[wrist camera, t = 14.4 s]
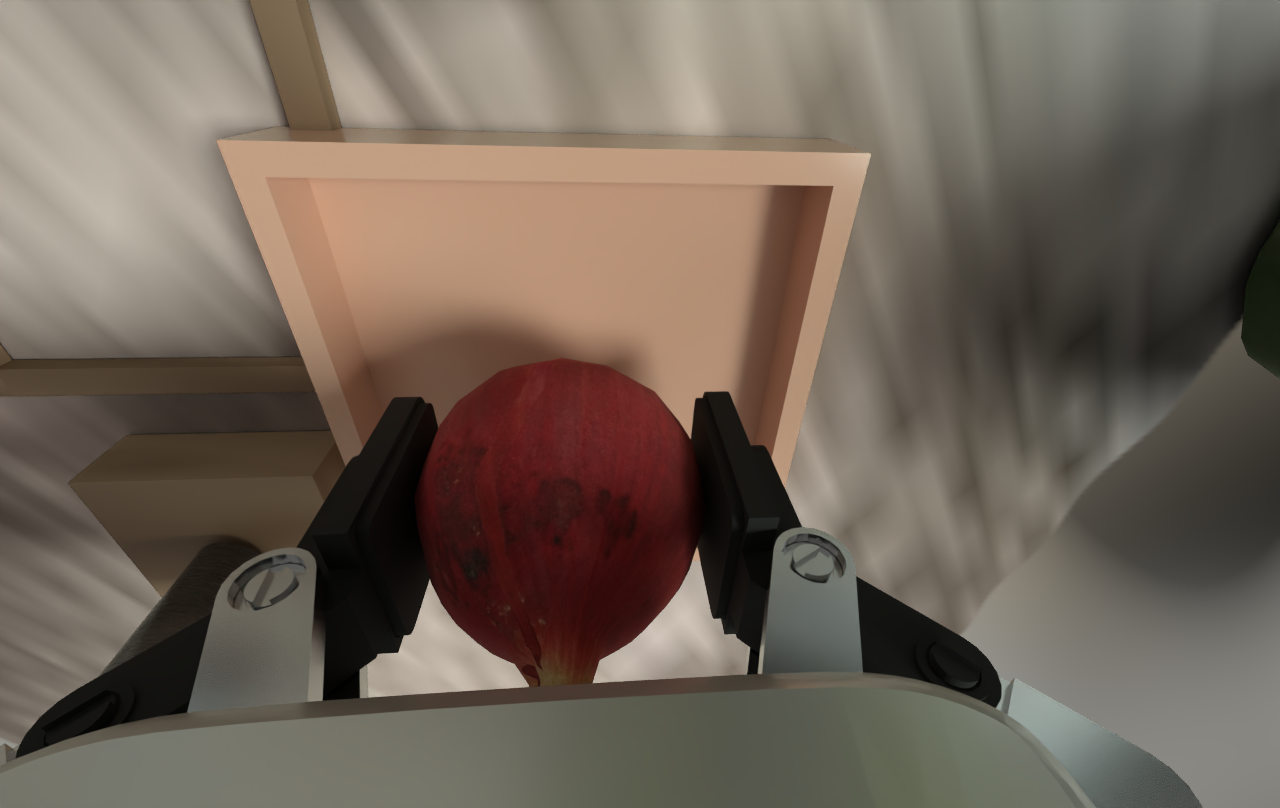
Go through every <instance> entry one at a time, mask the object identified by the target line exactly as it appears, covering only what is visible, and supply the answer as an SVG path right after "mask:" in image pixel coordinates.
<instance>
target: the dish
mask: <svg viewBox="0 0 1280 808" xmlns="http://www.w3.org/2000/svg"><path fill="white" fill-rule="evenodd" d="M216 141H217V144H218V146H219V149H220V151H221V154H222V156H223V159H224V161H225V164H226V166H227V169H228V171H229V174H230V176H231V179H232V181H233V184H234V186H235V189H236V191H237V194H238V196H239V199H240V202H241V204H242V207H243V209H244V212H245V214H246V217H247V219H248V222H249V224H250V227H251V229H252V232H253V234H254V237H255V239H256V242H257V244H258V247H259V249H260V252H261V254H262V257H263V260H264V262H265V265H266V267H267V270H268V272H269V275H270V277H271V280H272V282H273V285H274V287H275V290H276V292H277V295H278V297H279V300H280V302H281V305H282V307H283V310H284V313H285V315H286V318H287V320H288V323H289V325H290V328H291V330H292V333H293V335H294V338H295V340H296V343H297V345H298V348H299V350H300V353H301V355H302V358H303V360H304V363H305V365H306V368H307V371H308V373H309V376H310V378H311V381H312V383H313V386H314V388H315V391H316V393H317V396H318V398H319V401H320V403H321V406H322V408H323V411H324V413H325V416H326V418H327V421H328V423H329V426H330V429H331V431H332V434H333V436H334V439H335V441H336V444H337V446H338V449H339V451H340V454H341V456H342V459H343V461H344V464H345V466H346V465H347V464H348V462H349V461H350V460H351V459H352V457H355V456H357V455H359V454H360V452H361V451H362V449H363V447H364V446H365V444H366V442H367V441H368V439H369V437H370V436H371V434H372V432H373V430H374V429H375V427H376V425H377V424H378V422H379V420H380V419H381V417H382V415H383V414H384V412H385V410H386V409H387V407H388V405H389V404H390V402H391V400H392V399H393V398H395V397H422V398H423V400H424V401H425V403H431V404H432V405H433V408H434V412H435V416H436V420H437V424H438V428H439V426H440V424H441V423H442V422H443V420H444V419H445V417H446V416H447V415H448V413H449V412H450V411H451V409H452V408H453V407H454V405H455V404H456V403H457V401H459V400H460V399H462V398H463V397H464V396H466V395H467V394H468V393H470V392H471V391H473V390H474V389H475V388H477V387H478V386H479V385H481V384H482V383H484V382H485V381H486V380H488V379H489V378H491V377H492V376H493V375H495V374H496V373H497V372H499V371H500V370H504V369H508V368H511V367H515V366H520V365H526V364H531V363H537V362H543V361H548V360H554V359H559V358H566V359H572V360H578V361H584V362H589V363H595V364H601V365H607V366H609V367H611V368H613V369H615V370H616V371H618V372H620V373H622V374H624V375H626V376H627V377H629V378H631V379H633V380H635V381H637V382H638V383H640V384H642V385H644V386H646V387H648V388H650V389H651V390H653V391H655V392H656V393H657V395H658V396H659V397H660V398H661V400H662V401H663V402H664V403H665V404H666V406H667V407H668V408H669V409H670V411H671V412H672V413H673V414H674V416H675V417H676V418H677V419H678V420H679V422H680V423H681V425H682V426H683V428H684V430H685V431H686V433H687V434H688V436H689V437H690V439H691V432H692V423H693V413H694V404H695V399H696V398H703V394H704V392H716V391H728V392H729V393H730V395H731V398H732V400H733V403H734V405H735V408H736V410H737V413H738V415H739V417H740V420H741V422H742V425H743V427H744V430H745V432H746V435H747V437H748V440H749V442H750V445H764V446H765V447H766V448H767V450H768V452H769V454H770V456H771V458H772V461H773V463H774V465H775V467H776V470H777V472H778V474H779V476H780V479H781V481H782V483H783V485H784V488H785V485H786V481H787V477H788V473H789V469H790V466H791V462H792V458H793V454H794V450H795V446H796V442H797V439H798V435H799V431H800V427H801V423H802V419H803V415H804V411H805V408H806V404H807V400H808V396H809V392H810V388H811V384H812V381H813V377H814V373H815V369H816V365H817V361H818V357H819V353H820V350H821V346H822V342H823V338H824V334H825V330H826V326H827V322H828V319H829V315H830V311H831V307H832V303H833V299H834V295H835V292H836V288H837V284H838V280H839V276H840V272H841V268H842V264H843V261H844V257H845V253H846V249H847V245H848V241H849V237H850V234H851V230H852V226H853V222H854V218H855V214H856V210H857V206H858V203H859V199H860V195H861V191H862V187H863V183H864V179H865V176H866V172H867V168H868V164H869V160H870V156H871V153H869V152H866V151H863V150H860V149H857V148H854V147H851V146H848V145H846V144H843V143H840V142H837V141H834V140H831V139H805V138H761V137H717V136H673V135H628V134H584V133H540V132H496V131H452V130H407V129H363V128H340V129H337V130H333V131H317V130H291V129H290V127H273V128H269V129H264V130H260V131H255V132H250V133H246V134H241V135H237V136H232V137H227V138H223V139H218V140H216ZM692 561H700V557H699V552H698V547H697V548H696V551H695V554H694V557H693V560H692Z"/></svg>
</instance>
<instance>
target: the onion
mask: <svg viewBox="0 0 1280 808" xmlns="http://www.w3.org/2000/svg"><path fill="white" fill-rule="evenodd" d="M414 498H415V509H416V520H417V528H418V532H419V537H420V541H421V545H422V550H423V554H424V558H425V562H426V566H427V569H428V573H429V576H430V580H431V583H432V586H433V587H434V589H435V591H436V593H437V595H438V597H439V599H440V601H441V603H442V605H443V607H444V608H445V609H446V611H447V612H448V613H449V615H450V616H451V618H452V619H453V620H454V622H455V623H456V624H457V625H458V626H459V627H460V628H461V629H462V630H463V631H465V632H466V633H467V634H468V635H469V636H470V637H471V638H473V639H474V640H475V641H476V642H477V643H478V644H480V645H481V646H482V647H484V648H485V649H486V650H488V651H489V652H490V653H492V654H494V655H496V656H498V657H500V658H502V659H504V660H506V661H509V662H511V663H514V664H515V665H516V667H517V668H518V670H519V671H520V673H521V674H522V675H523V677H524V678H525V680H526V681H527V683H528V684H529V687H542V686H558V685H574V684H591V683H593V679H594V676H595V673H596V670H597V667H598V664H599V660H601V659H603V658H604V657H606V656H608V655H610V654H612V653H614V652H615V651H617V650H619V649H620V648H622V647H624V646H625V645H627V644H628V643H630V642H632V641H633V640H634V639H635V638H636V637H637V636H638V635H639V634H640V633H642V632H643V631H644V630H645V629H646V627H647V626H648V625H649V624H650V623H651V622H652V621H653V620H654V619H655V618H656V617H657V615H658V614H659V613H660V612H661V611H662V610H663V609H664V608H665V607H666V606H667V604H668V603H669V602H670V600H671V599H672V598H673V596H674V595H675V594H676V592H677V591H678V590H679V588H680V587H681V585H682V583H683V581H684V579H685V577H686V575H687V573H688V571H689V569H690V566H691V563H692V560H693V557H694V554H695V551H696V548H697V545H698V542H699V539H700V535H701V532H702V528H703V522H704V515H705V509H706V504H705V498H704V492H703V487H702V481H701V475H700V470H699V466H698V462H697V458H696V455H695V451H694V447H693V443H692V441H691V439H690V437H689V436H688V434H687V433H686V431H685V430H684V428H683V426H682V425H681V423H680V422H679V420H678V419H677V418H676V417H675V416H674V414H673V413H672V412H671V411H670V409H669V408H668V407H667V406H666V404H665V403H664V402H663V401H662V400H661V398H660V397H659V396H658V395H657V393H656V392H655V391H653V390H651V389H650V388H648V387H646V386H644V385H642V384H640V383H638V382H637V381H635V380H633V379H631V378H629V377H627V376H626V375H624V374H622V373H620V372H618V371H616V370H615V369H613V368H611V367H609V366H607V365H601V364H595V363H589V362H584V361H578V360H572V359H566V358H559V359H554V360H548V361H543V362H537V363H531V364H526V365H520V366H515V367H511V368H508V369H504V370H500V371H499V372H497V373H496V374H495V375H493V376H492V377H491V378H489V379H488V380H486V381H485V382H484V383H482V384H481V385H479V386H478V387H477V388H475V389H474V390H473V391H471V392H470V393H468V394H467V395H466V396H464V397H463V398H462V399H460V400H459V401H457V403H456V404H455V405H454V407H453V408H452V409H451V411H450V412H449V413H448V415H447V416H446V417H445V419H444V420H443V422H442V423H441V424H440V426H439V428H438V431H437V433H436V436H435V438H434V441H433V443H432V445H431V448H430V450H429V453H428V455H427V457H426V460H425V462H424V465H423V467H422V471H421V475H420V478H419V482H418V485H417V489H416V493H415V496H414Z"/></svg>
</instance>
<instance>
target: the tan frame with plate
mask: <svg viewBox="0 0 1280 808" xmlns="http://www.w3.org/2000/svg"><path fill="white" fill-rule="evenodd" d="M250 4H251V7H252V10H253V13H254V16H255V19H256V22H257V26H258V29H259V32H260V35H261V38H262V41H263V44H264V47H265V51H266V54H267V57H268V60H269V63H270V66H271V69H272V73H273V76H274V79H275V82H276V85H277V88H278V91H279V94H280V98H281V101H282V104H283V107H284V110H285V113H286V116H287V120H288V123H289V126H290V129H291V130H317V131H333V130H337V129H340V128H342V126H341V122H340V119H339V115H338V111H337V108H336V104H335V100H334V96H333V93H332V89H331V85H330V81H329V78H328V74H327V70H326V66H325V63H324V59H323V55H322V52H321V48H320V44H319V40H318V37H317V33H316V29H315V25H314V22H313V18H312V14H311V11H310V7H309V3H308V0H250ZM261 392H316V391H315V388H314V386H313V383H312V381H311V378H310V376H309V373H308V371H307V368H306V365H305V363H304V360H303V358H302V357H240V358H143V359H47V360H12V359H11V358H10V356H9V355H8V354H7V353H6V351H5V350H4V349H3V347H2V346H1V345H0V397H1V396H66V395H131V394H196V393H261ZM345 467H346V466H345V464H344V461H343V459H342V456H341V454H340V451H339V449H338V446H337V444H336V441H335V439H334V436H333V434H332V431H291V432H244V433H196V434H149V435H126V436H125V437H124V438H122V439H121V440H120V441H119V442H118V443H116V444H115V445H114V446H113V447H111V448H110V449H109V450H108V451H106V452H105V453H104V454H103V455H101V456H100V457H99V458H98V459H96V460H95V461H94V462H93V463H91V464H90V465H89V466H88V467H87V468H85V469H84V470H83V471H82V472H80V473H79V474H78V475H77V476H75V477H74V478H73V479H72V480H70V481H69V482H68V484H69V485H70V487H71V488H72V489H73V490H74V491H75V493H76V494H77V495H78V496H79V497H80V499H81V500H82V501H83V502H84V504H85V505H86V506H87V507H88V508H89V510H90V511H91V512H92V513H93V514H94V516H95V517H96V518H97V519H98V520H99V522H100V523H101V524H102V525H103V527H104V528H105V529H106V530H107V531H108V533H109V534H110V535H111V536H112V537H113V539H114V540H115V541H116V542H117V543H118V545H119V546H120V547H121V548H122V550H123V551H124V552H125V553H126V554H127V556H128V557H129V558H130V559H131V560H132V562H133V563H134V564H135V565H136V566H137V568H138V569H139V570H140V571H141V573H142V574H143V575H144V576H145V577H146V579H147V580H148V581H149V582H150V583H151V585H152V586H153V587H154V588H155V589H156V591H157V592H158V593H159V594H160V596H161V597H163V596H164V595H165V593H166V592H167V591H168V590H169V588H170V587H171V586H172V585H173V583H174V582H175V581H176V580H177V578H178V577H179V576H180V575H181V573H182V572H183V571H184V570H185V568H186V567H187V566H188V565H189V563H190V562H191V561H192V560H193V558H194V557H195V556H196V555H197V553H198V552H199V551H200V550H201V549H202V548H203V547H204V546H206V545H209V544H213V543H233V544H238V545H241V546H245V547H247V548H249V549H252V550H253V551H255V552H257V553H258V554H260V555H261V554H263V553H266V552H269V551H272V550H276V549H281V548H296V547H297V546H298V544H299V542H300V541H301V539H302V537H303V536H304V534H305V533H306V531H307V529H308V528H309V526H310V524H311V523H312V521H313V519H314V518H315V516H316V514H317V513H318V511H319V510H320V508H321V506H322V505H323V503H324V501H325V500H326V498H327V496H328V495H329V493H330V492H331V490H332V488H333V487H334V485H335V483H336V482H337V480H338V478H339V477H340V475H341V474H342V472H343V470H344V469H345Z"/></svg>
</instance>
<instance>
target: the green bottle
mask: <svg viewBox="0 0 1280 808" xmlns="http://www.w3.org/2000/svg"><path fill="white" fill-rule="evenodd" d="M1241 338H1242V341H1243V344H1244V346H1245V349H1246V351H1247V354H1248V356H1250V357H1251V358H1252V359H1254V360H1255V361H1256V362H1258V363H1259V364H1260V365H1262V366H1263V367H1264V368H1266V369H1267V370H1268V371H1270V372H1271V373H1273V374H1274V375H1275V376H1277V377H1279V378H1280V221H1279V222H1278V224H1277V225H1276V227H1275V228H1274V230H1273V231H1272V233H1271V235H1270V236H1269V238H1268V239H1267V241H1266V242H1265V244H1264V245H1263V247H1262V248H1261V250H1260V251H1259V253H1258V256H1257V258H1256V261H1255V263H1254V266H1253V268H1252V270H1251V273H1250V275H1249V278H1248V280H1247V283H1246V291H1245V302H1244V313H1243V323H1242V334H1241Z"/></svg>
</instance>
